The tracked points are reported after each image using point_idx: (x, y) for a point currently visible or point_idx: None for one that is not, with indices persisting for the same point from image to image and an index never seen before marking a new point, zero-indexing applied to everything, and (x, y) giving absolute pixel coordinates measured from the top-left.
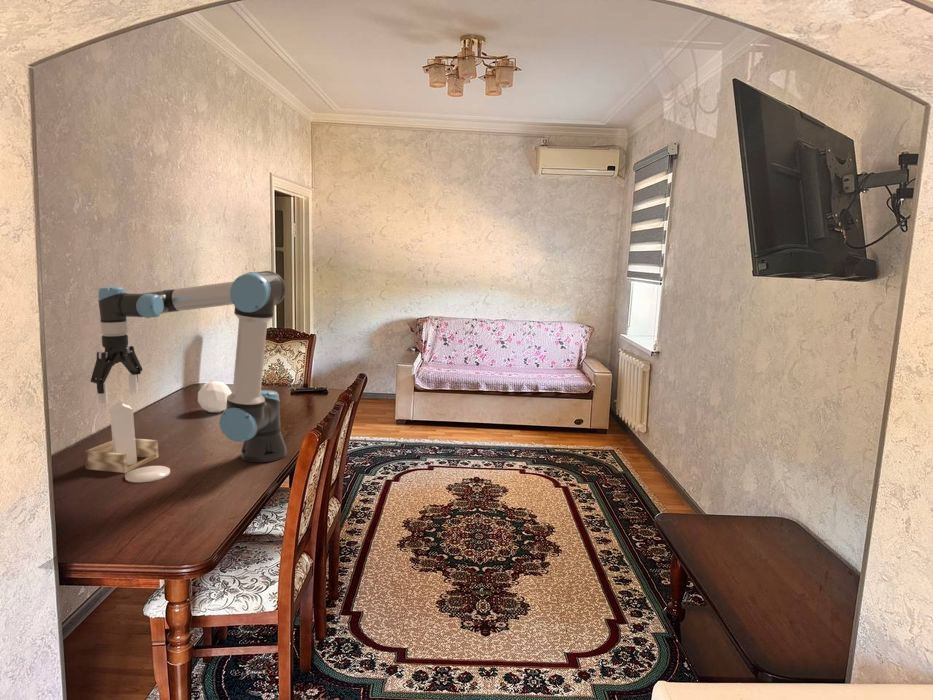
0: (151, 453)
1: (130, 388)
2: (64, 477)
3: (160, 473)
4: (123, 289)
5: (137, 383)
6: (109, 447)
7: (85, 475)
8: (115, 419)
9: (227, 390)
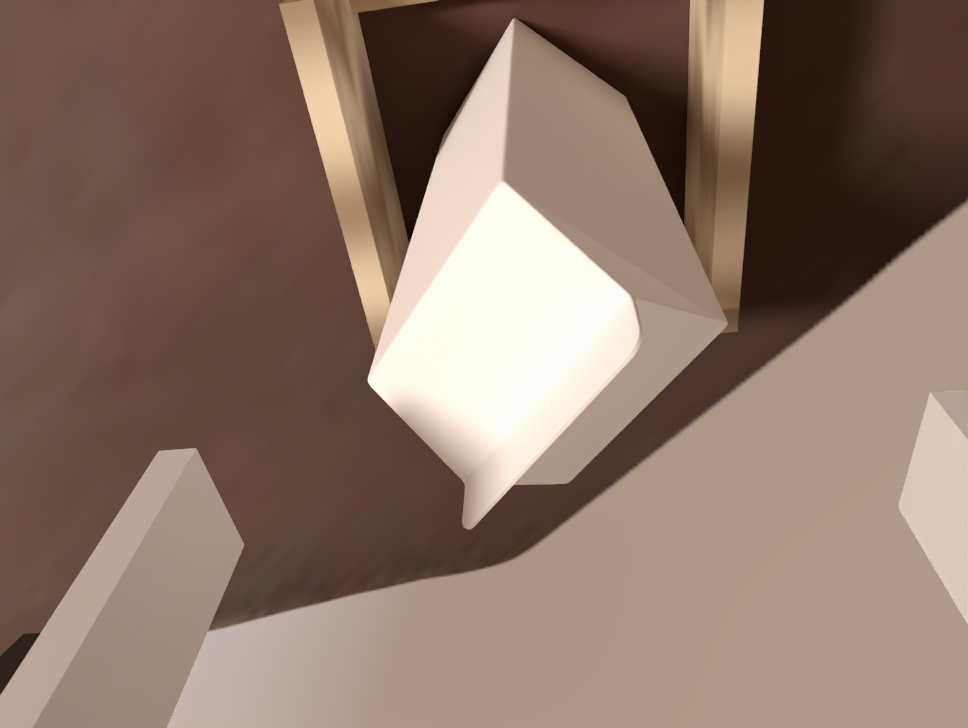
0: (353, 31)
1: (207, 604)
2: (871, 260)
3: None
4: None
5: (59, 609)
6: None
7: (820, 169)
8: (687, 254)
9: None
